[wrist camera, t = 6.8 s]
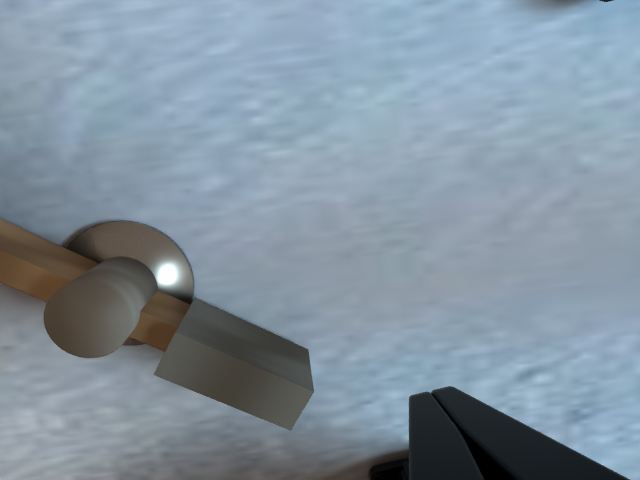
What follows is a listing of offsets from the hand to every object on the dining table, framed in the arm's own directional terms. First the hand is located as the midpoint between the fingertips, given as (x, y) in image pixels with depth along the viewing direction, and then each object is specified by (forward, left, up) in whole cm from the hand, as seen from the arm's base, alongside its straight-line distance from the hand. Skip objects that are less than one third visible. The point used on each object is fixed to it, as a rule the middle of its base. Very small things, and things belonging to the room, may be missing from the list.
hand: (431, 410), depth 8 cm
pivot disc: (0, +10, -12) cm, 16 cm away
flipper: (+1, +11, -11) cm, 16 cm away
